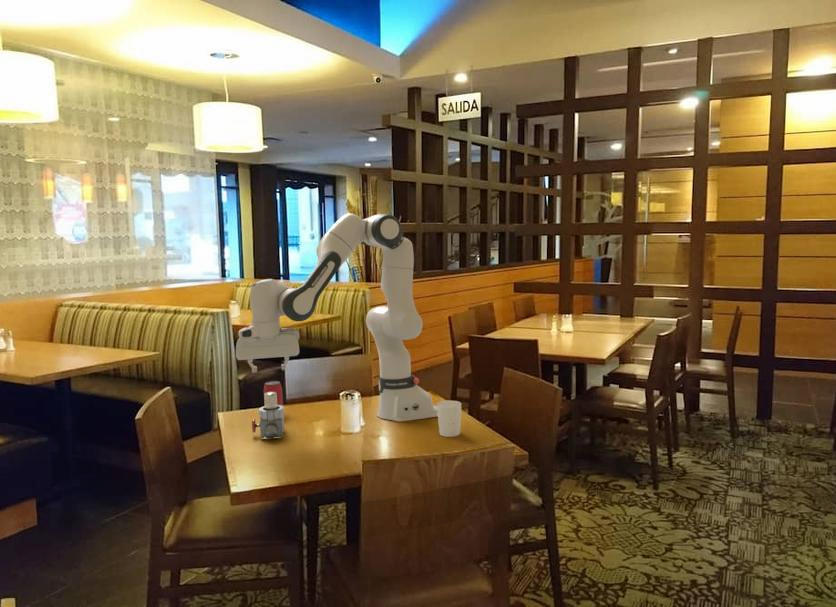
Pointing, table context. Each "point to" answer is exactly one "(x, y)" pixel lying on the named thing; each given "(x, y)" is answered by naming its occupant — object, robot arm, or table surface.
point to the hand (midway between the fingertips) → (269, 371)
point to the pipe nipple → (270, 401)
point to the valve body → (270, 422)
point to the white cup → (449, 418)
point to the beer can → (274, 390)
